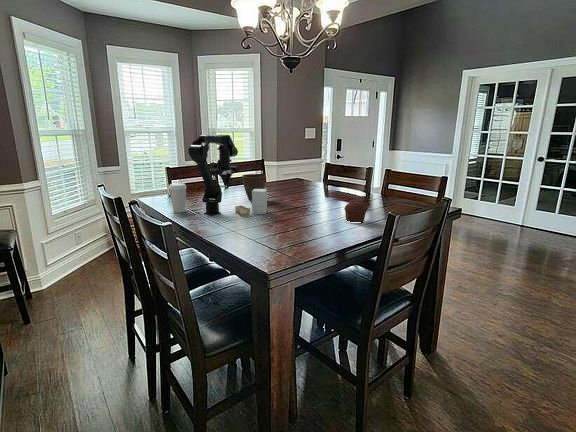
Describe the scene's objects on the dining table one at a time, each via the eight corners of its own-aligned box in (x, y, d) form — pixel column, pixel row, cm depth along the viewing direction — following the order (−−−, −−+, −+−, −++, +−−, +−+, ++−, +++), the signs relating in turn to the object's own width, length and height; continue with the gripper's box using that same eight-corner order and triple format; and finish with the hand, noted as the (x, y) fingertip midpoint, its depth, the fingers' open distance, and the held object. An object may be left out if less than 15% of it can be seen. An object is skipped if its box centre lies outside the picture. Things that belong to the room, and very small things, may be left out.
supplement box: (267, 211, 190) (267, 188, 187) (265, 214, 183) (265, 191, 180) (254, 210, 191) (254, 188, 188) (251, 213, 184) (251, 191, 181)
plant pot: (238, 201, 212) (238, 176, 208) (248, 197, 226) (247, 173, 222) (260, 203, 208) (260, 177, 204) (269, 198, 222) (269, 174, 218)
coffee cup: (166, 212, 185) (164, 184, 181) (179, 208, 193) (177, 182, 189) (179, 214, 181) (177, 186, 177) (192, 210, 189) (190, 183, 185)
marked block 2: (246, 217, 177) (246, 209, 176) (240, 216, 179) (239, 208, 178) (250, 215, 181) (250, 207, 180) (243, 214, 183) (243, 207, 181)
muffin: (348, 225, 166) (350, 205, 163) (339, 219, 176) (340, 200, 173) (370, 223, 169) (372, 204, 166) (360, 218, 179) (361, 199, 177)
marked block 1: (239, 215, 182) (238, 207, 180) (235, 213, 185) (235, 206, 184) (245, 214, 184) (245, 206, 183) (241, 212, 187) (241, 205, 186)
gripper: (225, 155, 201) (226, 182, 205) (201, 158, 185) (203, 186, 189) (239, 157, 195) (240, 184, 199) (216, 159, 180) (217, 188, 184)
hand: (225, 185), depth 193 cm, fingers closed
